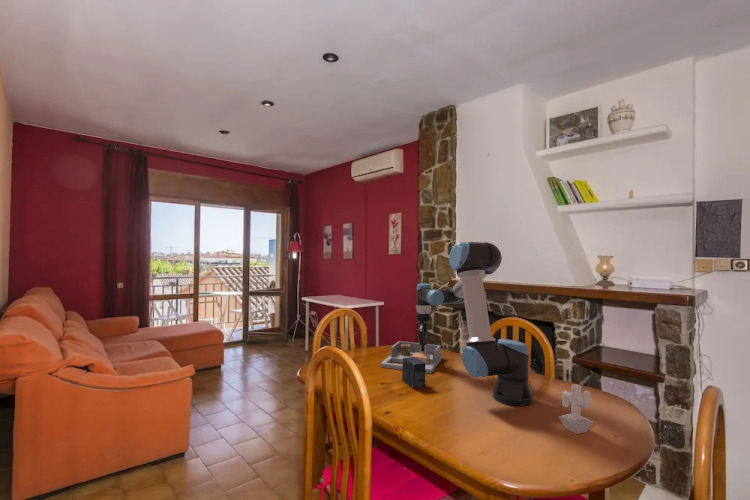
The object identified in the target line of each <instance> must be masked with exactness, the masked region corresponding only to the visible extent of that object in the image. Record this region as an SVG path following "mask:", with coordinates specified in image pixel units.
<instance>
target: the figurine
mask: <svg viewBox="0 0 750 500" xmlns="http://www.w3.org/2000/svg"><path fill="white" fill-rule="evenodd" d="M570 387H571V389H570V391H567V390H565V391H563V393H562V407H564V408H568V407H570V413H566V414H563V415H559V416H558V418H559V419H560V421H561V423H562V425H563V426H564V429H566V430H568V431H570V432H572V433H574V434H575V435H579V434H582V433H587V431H588V430H589V429H590V427H591V426H592V425H593V423H594V421H593V420H591V419H589V418H586V417H584V416H582V415H581V413H582V411H581V407H583V408H584V409H585V408H586V409H588V408H589V407H591V391H590V390H584V391H583V393H582V386H581V385H580V384H576V383H572V384H571V385H570ZM582 394H583V395H582Z"/></svg>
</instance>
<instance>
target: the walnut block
mask: <svg viewBox="0 0 750 500" xmlns="http://www.w3.org/2000/svg"><path fill="white" fill-rule="evenodd" d="M401 355H408V356H410V344H401Z"/></svg>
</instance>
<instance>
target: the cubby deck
mask: <svg viewBox="0 0 750 500" xmlns="http://www.w3.org/2000/svg"><path fill="white" fill-rule="evenodd" d="M401 344H410V356H408V355H401ZM425 345H426V354H430V360H429V362H428V363H427V364H425V374H432V373H433V372H434V370H435V369H436V368H437V366H438V365H439V363H440V362H441V361H442V360H443V354H441V345H440V344H432V343H431V344H429V343H428V345H427V344H425ZM420 349H421V345H419V342H411V341H410V342H409V341H402V340H400V341H399V340H398V341H397V342H396V343H395V344H393V345H391V347H390V355H389V356H388V357H386V358H385V359H384V360H383V361H382V362H380V368H383V369H384V368H385V369H391V368H392V370H400V371H403V358H409V357H411V356H412V355H413V354H414V353H415V352H416V353H420ZM399 363H400V364H399Z"/></svg>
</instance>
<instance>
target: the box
mask: <svg viewBox="0 0 750 500" xmlns="http://www.w3.org/2000/svg"><path fill="white" fill-rule="evenodd" d="M425 364H426V363H424V362H423V361H421V360H419V359H417V358H416V357H409V358H403V363H402V365H403V370H402V374H401V379H402V380H401V381H402V382H403V383H405V384H406V385H408V386H409V387H410V388H411V389H415V388H424V387H426V373H425Z"/></svg>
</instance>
